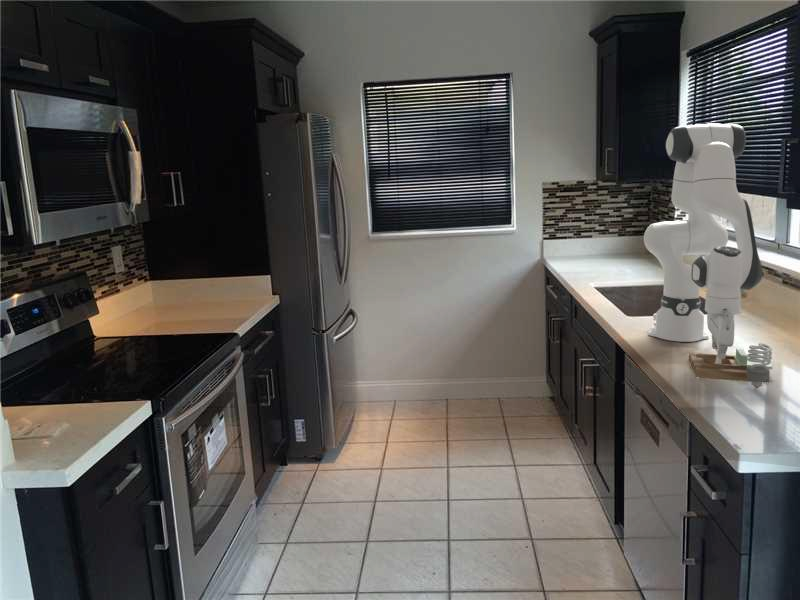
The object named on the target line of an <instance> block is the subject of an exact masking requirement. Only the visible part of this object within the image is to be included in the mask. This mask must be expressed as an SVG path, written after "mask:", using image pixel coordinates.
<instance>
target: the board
mask: <svg viewBox="0 0 800 600" xmlns="http://www.w3.org/2000/svg"><path fill="white" fill-rule="evenodd" d="M734 356H735V355H733V354H732V355H730V354H729V355H728V354H726V357H725V359H721V363H722V364H714V363H715V361H716V357H717V353H716V354H714V353H713V354H711V353H699V352H698V353H696V352H695V353H694V352H689V354H688V363H689V362H690V363H689V365H690V364H691V365H690V368H691V370H692V369H693V370H692V371H694V372H693V374H694V373H695V374H694V375H695V376H694V377H695V378H696V377H699V378H698V379H707V378H708V380H709V379H710V380H722V381H723V380H725V381H738V382H750V383H752V382H751V380H749V379H748V378H747V367H748V366H744V365H738V364H737V362H736V361H735V359H734ZM770 375H771V373H770V374H769V376H770ZM765 382H766V383H767V382H768V383H770V377H769V378H768V381H765ZM765 382H764V383H765ZM768 383H767V384H768Z"/></svg>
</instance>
